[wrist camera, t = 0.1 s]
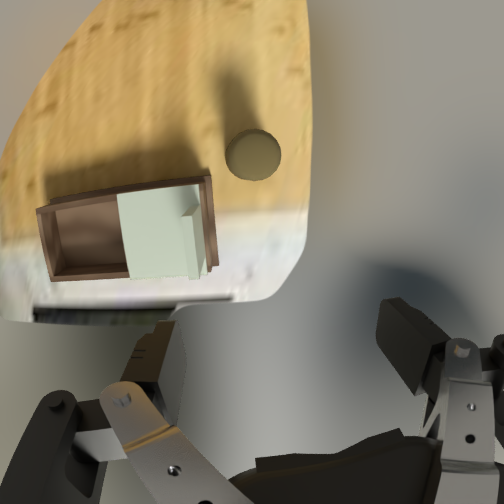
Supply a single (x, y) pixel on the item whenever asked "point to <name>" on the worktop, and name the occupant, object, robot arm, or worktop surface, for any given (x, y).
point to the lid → (163, 232)
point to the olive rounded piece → (253, 155)
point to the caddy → (105, 231)
